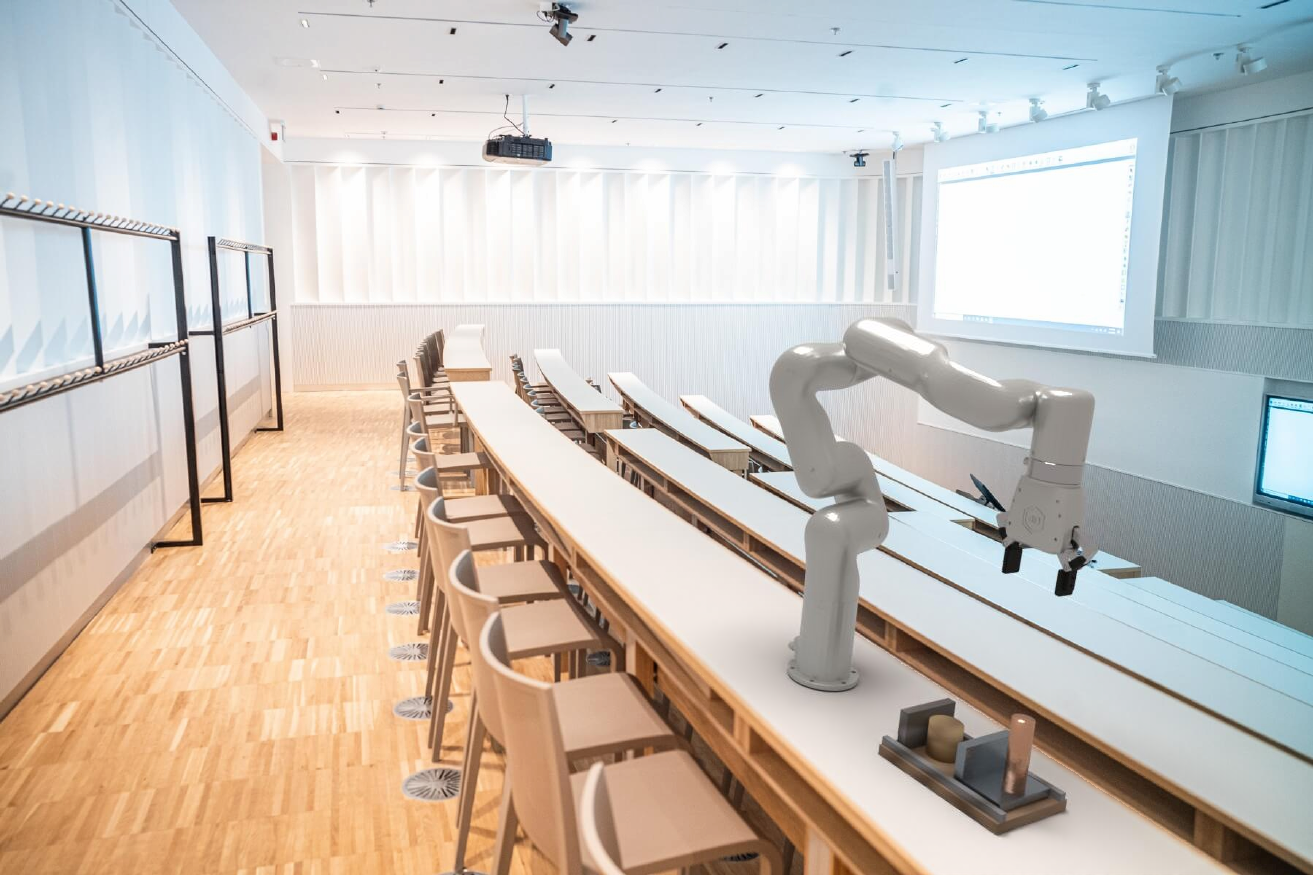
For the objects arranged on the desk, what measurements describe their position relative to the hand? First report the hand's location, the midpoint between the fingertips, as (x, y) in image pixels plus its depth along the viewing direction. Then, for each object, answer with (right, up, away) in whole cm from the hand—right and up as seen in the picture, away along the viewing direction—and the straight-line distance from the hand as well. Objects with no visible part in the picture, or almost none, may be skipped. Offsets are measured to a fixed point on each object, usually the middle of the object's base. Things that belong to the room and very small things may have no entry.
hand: (1035, 583), depth 137 cm
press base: (-12, -27, -4) cm, 30 cm away
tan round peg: (-14, -25, -1) cm, 29 cm away
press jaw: (-9, -27, -10) cm, 30 cm away
